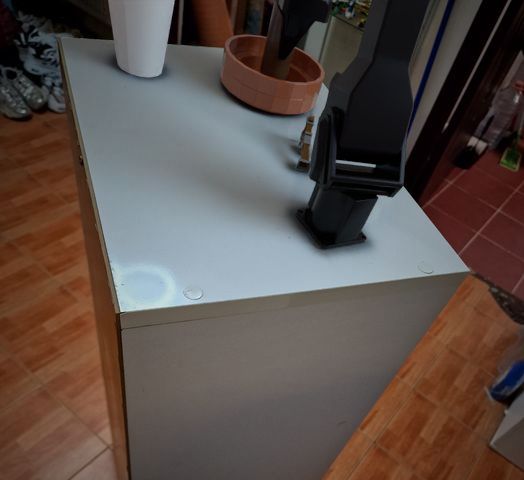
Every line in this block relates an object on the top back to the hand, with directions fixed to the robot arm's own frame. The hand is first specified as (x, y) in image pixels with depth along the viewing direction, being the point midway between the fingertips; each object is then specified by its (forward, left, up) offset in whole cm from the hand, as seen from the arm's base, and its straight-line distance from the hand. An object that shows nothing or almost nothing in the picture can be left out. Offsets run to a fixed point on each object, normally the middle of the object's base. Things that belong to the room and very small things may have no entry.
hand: (279, 52), depth 65 cm
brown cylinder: (0, 0, -3) cm, 3 cm away
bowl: (-1, +1, -5) cm, 6 cm away
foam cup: (+6, +19, -6) cm, 21 cm away
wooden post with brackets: (-18, +5, -6) cm, 20 cm away
